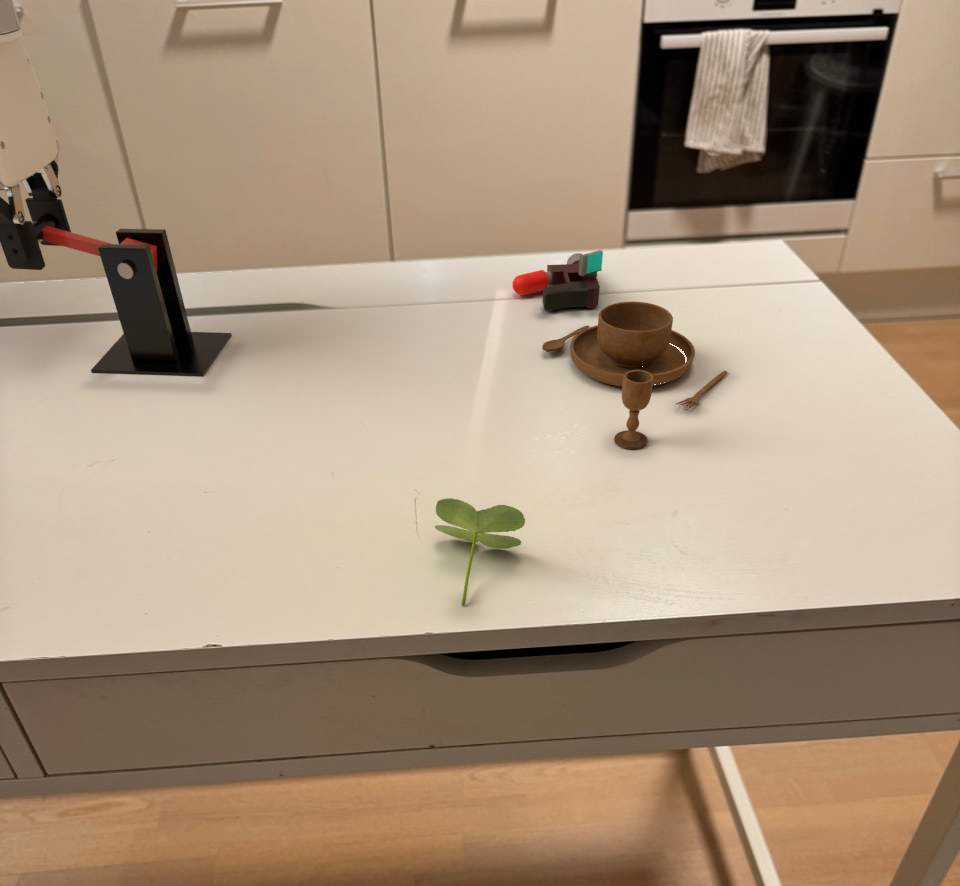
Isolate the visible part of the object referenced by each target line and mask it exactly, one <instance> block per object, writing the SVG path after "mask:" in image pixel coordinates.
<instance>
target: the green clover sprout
mask: <svg viewBox="0 0 960 886" xmlns="http://www.w3.org/2000/svg"><path fill="white" fill-rule="evenodd" d="M435 514H436V516H437V518H438V519H440V520H442V521H443V522H445V523H446V524H449V525H445V524H444V525H443V524H439V525H438V524H437V525H434V529H435V530H437V531H438V532H441V533H443V534H445V535H448V536H450V537H453V538H456V539H459V540H463V541H468V542H471V544H472V545H471V549H470V554H469V560H468V564H467V569H466V573H465V578H464V579H465V580H464V585H463V586H464V588H463V592H462V594H463V595H462V599H461V606H462V607H463V606H465V604H466V600H467V594H468V586H469V579H470V573H471V569H472V565H473V559H474V553H475V547H476V543H480V544H482V546H485V547H488V548H492V549H504V550H506V549H507V550H508V549H511V548H516V547H519V546H521V544H522V540H521V539H520V538H518V537H514V536H511V535H504V534H496V533H509V532H516V531H518V530H520V529H522V528H523V527H524V526H525V524H526V518H525V516H524V514H523V512H522V511H521V510H520V509H518V508H516V507H514V506H510V505H506V504H497V505H492V506H491V507H488V508H485V509H480V510H476V508H475V507H474V506H473V505H471V504H470V503H468V502H465V501H464V500H461V499H458V498H457V499H456V498H452V497H451V498H448V497H447V498H441V499H439V500H437V502H436V505H435Z"/></svg>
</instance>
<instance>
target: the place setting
mask: <svg viewBox="0 0 960 886" xmlns="http://www.w3.org/2000/svg"><path fill="white" fill-rule="evenodd" d="M673 321H674V317H673V315H672V313H671V312H670V311H669V310H668V309H666V308H664V307H663V306H660V305H657V304H655V303H650V302H644V301H620V302H615V303H612V304H611V303H610V304H608V305H607V306H604V308H602V309H601V310H600V311H599V313H598V318H597V325H593V326H590V325H584V326H582V327H579V328H577V329H575V330H574V331H572V332H570V333H568V334H567V335H565V336H563V337H560V338H557V339H551V340H547V341H544V343H543V344H542V347H541V349H542V351H544V352H548V353H553V352H557V351H559V350H561V349H563V348H564V346H565V344H566V341H568V340H569V339H571V338H572V339H571V341H570V345H569V353H570V358H571V360H572V362H573V364H574V365H575V367H576V368H577V369H578V370H579V371H580V372H582V373H583V374H584V375H585V376H588V377H589V378H591V379H592V380H595V381H598V382H600V383H603V384H606V385H610V386H614V387H621V401H622V404H623V406H624V408H626V409H627V410H628V414H629V415H628V418H627V420H626V423H625V424H626V428H627V430H622V431H619V432H617V433H616V434H615V435H614V438H613V440H614V443H615V444H616V445H617V446H619V447H620V448H623V449H627V450H638V449H641V448H644V447H645V446H646V445H647V443H648V437H647V436H646V434H644V433H642V432H640V431H637V430H638V428H639V426H640V420H639V415H640V411H642V410H645V409H646V408H647V407H648V405H649V404H650V401H651V397H652V393H653V387H656V386H660V385H664V384H668V383H670V382H673V381H675V380H677V379H679V378H680V377H682V376H683V375H685V374H686V372H688V371H689V370H690V368H691V366H692V365H693V362H694V359H695V355H696V349H695V346H694V344H693V342H691V341H690V340H689V338H687V337H686V336H685V335H683V334H681V333H680V332H677V331H675V330H673ZM669 343H671V344H673V345H675V346H677V347H679V348H680V349H682V351H684V353H685V355H686V357H687V362H686V363H685V357H684V355H683V354H682V353H681V352H680V351H679V350H678V349H677V348H676V347H674V346H672V345H670V344H669ZM642 366H643V367H642ZM727 373H728V371H727V370H723V371H721V372H720V373H719V374H718V375H716V376H715V377H713V378H712V379H711V380H710V381H709V382H708V383H706V384H705V385H704V386H702V388H701V389H699V390H698V391H697V392H696V393H694V395H692V396H690V397H687V398H685V399H683V400H681V401H678V402H676V403H675V405H678V406H679V407H680V405H681V404H682V405H681V406H682V407H683V408H684V406H685V405H686V406H685V407H686V408H687V409H689V408H690V409H691V408H694V407H695V406H697V405H699V404H700V400H699V398H700V397H701V396H702V395H703V394H704V393H706V391H708V390H710V388H712V387H713V386H714V385H715V384H717V383H718V382H719V381H720V380H721V379H722V378H724V377H725V376H726V374H727ZM681 375H682V376H681ZM679 376H680V377H679ZM673 379H674V380H673ZM671 380H672V381H671ZM668 381H669V382H668ZM664 382H665V383H664ZM660 383H661V384H660ZM654 384H656V385H654ZM677 403H678V404H677ZM688 406H690V407H689V408H688Z"/></svg>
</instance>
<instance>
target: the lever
mask: <svg viewBox="0 0 960 886" xmlns="http://www.w3.org/2000/svg"><path fill="white" fill-rule="evenodd" d="M31 222H32V221H31ZM32 225H33V228H34V231H35V234H36V237H37V240H38V244H39V245H40V242H41V241H46V242H50V243H53V244H57V245H61V246H60V247H65V248H67V249H68V248H69V249H72V250H76V251H80V252H83V253H87V254H90V255H94V256H97V257H100V254H99V250H98V247H100V246H101V245H102V244H112V243H111V242H108V241H103V240H101V239H97V238H94V237H93V238H92V237H89V236H85V235H82V234H79V233H75V232H72V231H71V232H68V231H64V230H61V229H58V226H59V225H58V221H57V219H56V218H55V217H54V216H53V215H52V214H49V213H45V214H43V215H42V216H40V217H39V218H37V219H36V220H35V221H33V222H32ZM118 244H119V243H118ZM119 245H149V246H150V250H151V253H152V257H153V261H154V265H155V269H156V272H157V246H155V245H151V244H148V243H144V242H140V241H137V240H133V239H130V238H126V239H125V240H124V241H123V242H121V243H120V244H119Z"/></svg>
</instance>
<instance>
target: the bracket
mask: <svg viewBox="0 0 960 886" xmlns="http://www.w3.org/2000/svg"><path fill="white" fill-rule="evenodd" d="M115 235H116V238H117V242H118V243H117V244H114V243H111V244H102V245H101V246H100V247H98V250H99V254H100V256H99V257H100V260H101V264H102V266H103V270H104V273H105V277H106V279H107V283H108V286H109V289H110V293H111V296H112V300H113V302H114V306H115V310H116V313H117V315H118V319H119V324H120V325H121V329H122V332H123V333H122V335H120V337H119V339H117V340H116V341H115V342H114V344H113V345H112V346H111V347H110V348H109V349H108V350H107V351H106V352H105V354H104V355H103V356H102V357H101V358H100V359H99V360H98V361H97V362H96V364H95V365H94V366H93V367H92V368H91V369H90V372H91V374H105V375H109V374H110V375H137V376H138V375H139V376H140V375H141V376H166V377H167V376H169V377H195V378H196V377H198V378H199V377H200V378H203V377H205V375H206V374H207V373H208V371H209V369H210V368H211V366H212V365H213V364H214V362H215V361H216V359H217V358H218V356H220V353H221V352H222V351H223V349H224V348H225V346H226V345H227V343H228V342H229V340H231V338H232V332H212V331H211V332H210V331H209V332H208V331H191V327H190V323H189V317H188V315H187V311H186V307H185V303H184V302H185V301H184V298H183V294H182V291H181V286H180V283H179V278H178V274H177V271H176V266H175V263H174V259H173V254H172V250H171V247H170V242H169V238H168V234H167V230H166V229H163V228H161V229H160V228H159V229H158V228H157V229H155V228H154V229H153V228H119V229H117V230H116V231H115ZM126 238H130V239H133V240H137V241H140V242H144V243H148V244H151V245H155V246H157V272H156V269H155V265H154V261H153V257H152V253H151V250H150V246H149V245H119V244H120V243H121V242H123V241H124V240H125V239H126Z"/></svg>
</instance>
